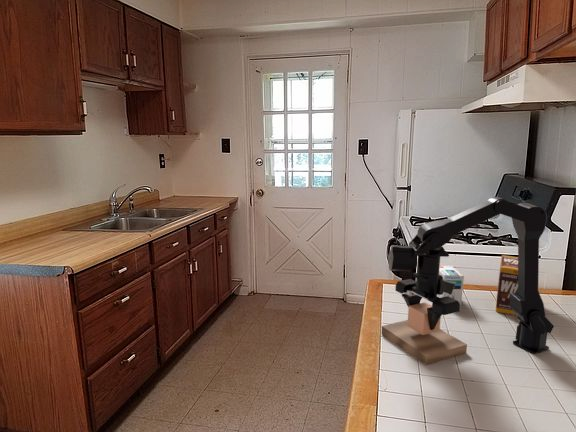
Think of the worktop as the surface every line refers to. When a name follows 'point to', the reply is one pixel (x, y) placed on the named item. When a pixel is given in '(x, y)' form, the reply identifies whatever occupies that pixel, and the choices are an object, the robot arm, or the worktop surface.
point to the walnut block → (424, 343)
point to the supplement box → (507, 283)
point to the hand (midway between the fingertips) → (423, 324)
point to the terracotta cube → (420, 319)
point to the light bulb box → (453, 277)
